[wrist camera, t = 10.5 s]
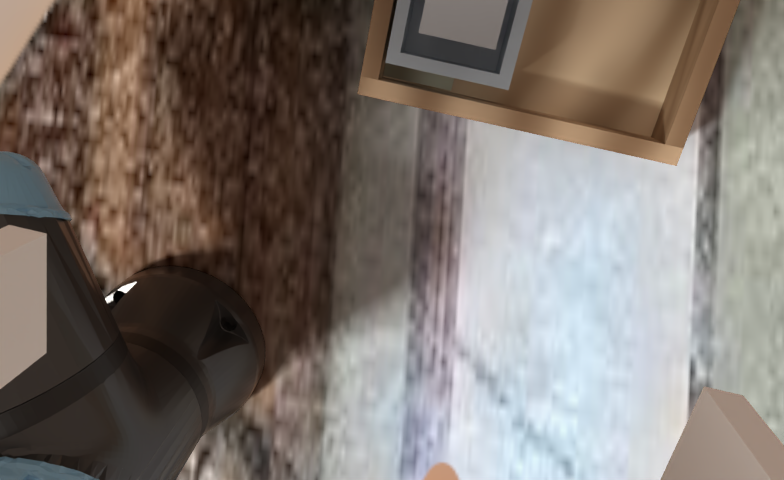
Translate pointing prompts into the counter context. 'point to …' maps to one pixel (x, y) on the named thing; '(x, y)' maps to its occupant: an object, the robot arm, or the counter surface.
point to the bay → (580, 73)
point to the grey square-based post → (460, 38)
